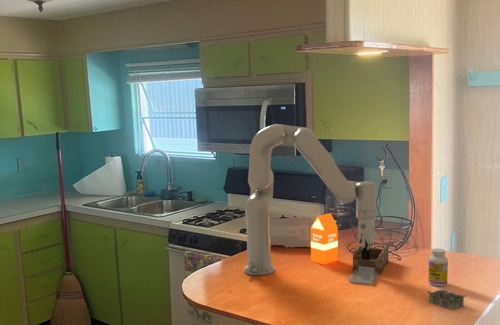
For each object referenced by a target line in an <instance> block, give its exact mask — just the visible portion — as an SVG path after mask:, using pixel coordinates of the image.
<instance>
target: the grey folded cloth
mask: <svg viewBox="0 0 500 325" xmlns="http://www.w3.org/2000/svg"><path fill="white" fill-rule="evenodd" d="M379 275H380V274H379V270H375V267H374V266H364V265H359V266H358V268H356V270H355V271H353V273H352V274H351V276H350V277H349V278H348V283H350V284H360V285H366V286H367V285H369V286H373V284H374V283H375V281H376V279H377V278H378V276H379Z"/></svg>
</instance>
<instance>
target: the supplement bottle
mask: <svg viewBox="0 0 500 325" xmlns="http://www.w3.org/2000/svg"><path fill="white" fill-rule="evenodd" d="M431 254H432V255H430V256H429V258H428V276H427V278H428V284H429V285H431V286H434V287H444V286H447V284H448V277H449V276H448V274H449V273H448V272H449V271H448V268H449V260H448V259H449V258H448V257H447V256H446V249H443V248H440V247H439V248H432V249H431Z"/></svg>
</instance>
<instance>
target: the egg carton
mask: <svg viewBox="0 0 500 325" xmlns="http://www.w3.org/2000/svg"><path fill="white" fill-rule="evenodd" d="M427 294H429V295H428V296H429V297H428V301H429V303H430V304H432V305H434V304H437V305H438V306H439V307H442V308H443V307H445V308H446V307H447V308H448V310H451V311H452V310H456V311H457V310H459V308H460V307H461V308H463V307H465V306H464V302H465V301H464V300H465V298H466V295H462V294H457V293H456V292H451V291H448V290H446V289H438V290H435V291H433V292H431V291H429V290H428V291H427Z"/></svg>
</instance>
